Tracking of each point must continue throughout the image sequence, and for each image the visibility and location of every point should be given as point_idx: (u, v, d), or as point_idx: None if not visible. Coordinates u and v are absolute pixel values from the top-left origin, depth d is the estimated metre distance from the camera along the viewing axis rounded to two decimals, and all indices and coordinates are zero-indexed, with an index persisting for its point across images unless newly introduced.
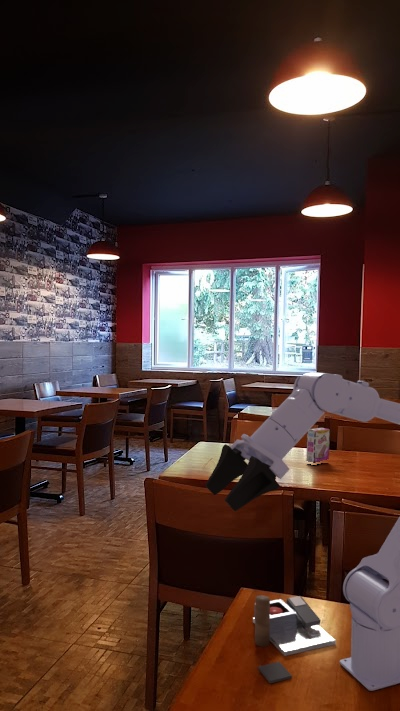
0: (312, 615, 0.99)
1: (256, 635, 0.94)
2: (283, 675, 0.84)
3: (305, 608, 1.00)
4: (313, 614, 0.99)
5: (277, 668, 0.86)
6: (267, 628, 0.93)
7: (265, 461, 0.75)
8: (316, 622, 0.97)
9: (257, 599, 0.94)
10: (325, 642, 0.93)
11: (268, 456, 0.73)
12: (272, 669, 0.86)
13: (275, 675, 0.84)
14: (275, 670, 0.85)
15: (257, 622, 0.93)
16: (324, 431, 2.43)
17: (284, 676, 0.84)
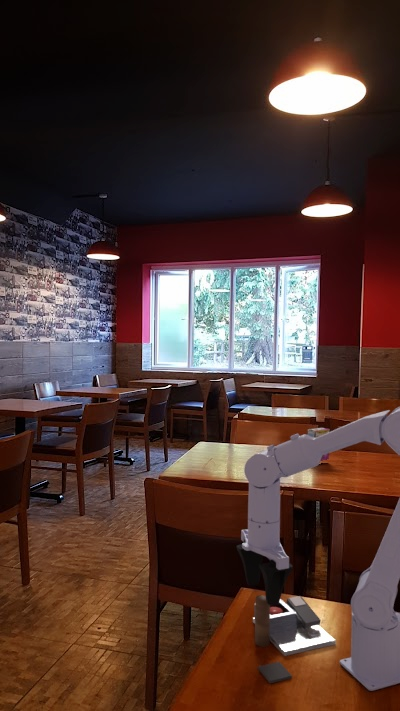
0: (312, 615, 0.99)
1: (256, 635, 0.94)
2: (283, 675, 0.84)
3: (305, 608, 1.00)
4: (313, 614, 0.99)
5: (277, 668, 0.86)
6: (267, 628, 0.93)
7: None
8: (316, 622, 0.97)
9: (257, 599, 0.94)
10: (325, 642, 0.93)
11: (269, 557, 0.89)
12: (272, 669, 0.86)
13: (275, 675, 0.84)
14: (275, 670, 0.85)
15: (257, 622, 0.93)
16: (324, 431, 2.43)
17: (284, 676, 0.84)
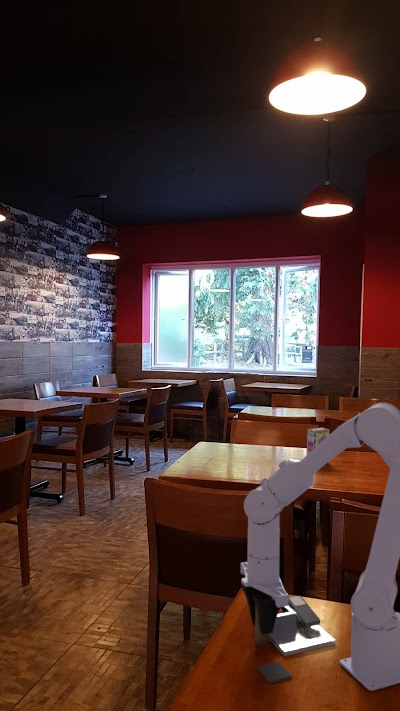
0: (312, 615, 0.99)
1: (256, 635, 0.94)
2: (283, 675, 0.84)
3: (305, 608, 1.00)
4: (313, 614, 0.99)
5: (277, 668, 0.86)
6: None
7: None
8: (316, 622, 0.97)
9: None
10: (325, 642, 0.93)
11: (268, 594, 0.89)
12: (272, 669, 0.86)
13: (275, 675, 0.84)
14: (275, 670, 0.85)
15: (257, 622, 0.93)
16: (324, 431, 2.43)
17: (284, 676, 0.84)
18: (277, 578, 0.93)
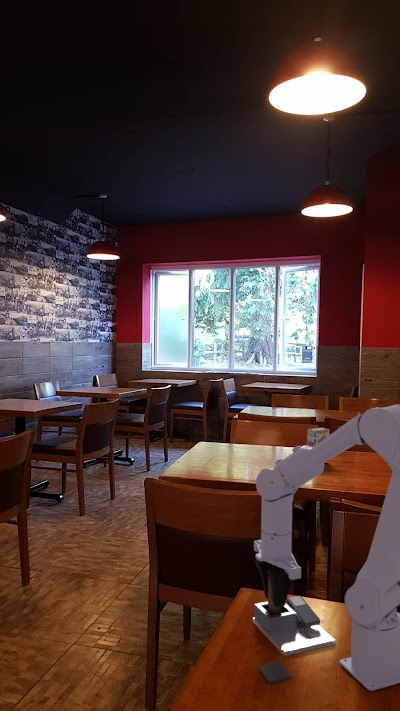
0: (312, 615, 0.99)
1: (269, 608, 0.98)
2: (283, 675, 0.84)
3: (305, 608, 1.00)
4: (313, 614, 0.99)
5: (277, 668, 0.86)
6: None
7: None
8: (316, 622, 0.97)
9: None
10: (325, 642, 0.93)
11: (282, 567, 0.94)
12: (272, 669, 0.86)
13: (275, 675, 0.84)
14: (275, 670, 0.85)
15: (270, 596, 0.98)
16: (324, 431, 2.43)
17: (284, 676, 0.84)
18: (289, 553, 0.97)
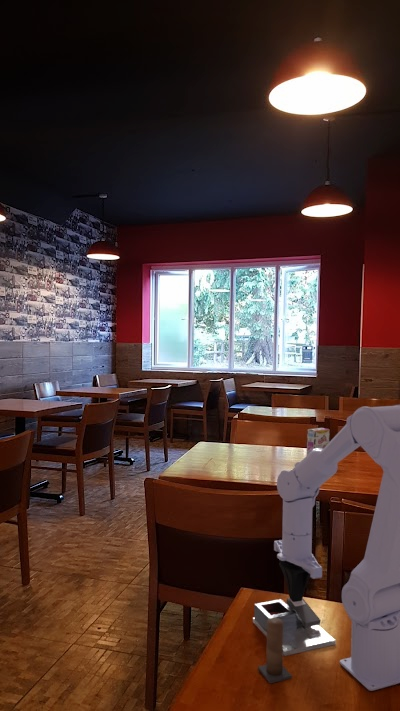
0: (312, 615, 0.99)
1: (269, 663, 0.84)
2: (283, 675, 0.84)
3: (305, 608, 1.00)
4: (313, 614, 0.99)
5: None
6: (281, 654, 0.84)
7: None
8: (316, 622, 0.97)
9: (269, 623, 0.85)
10: (325, 642, 0.93)
11: (303, 567, 0.97)
12: None
13: None
14: None
15: (270, 648, 0.84)
16: (324, 431, 2.43)
17: (284, 676, 0.84)
18: (310, 553, 1.01)
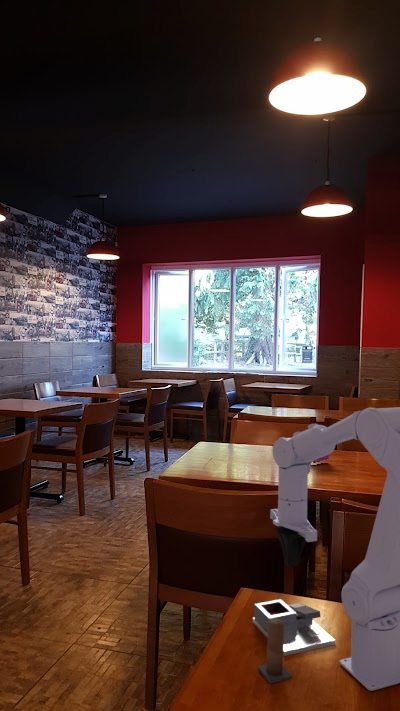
0: (311, 610, 0.99)
1: (269, 663, 0.84)
2: (283, 675, 0.84)
3: (304, 608, 1.00)
4: (312, 609, 0.99)
5: None
6: (281, 655, 0.84)
7: None
8: (316, 614, 0.97)
9: (270, 623, 0.85)
10: (325, 642, 0.93)
11: (299, 531, 0.99)
12: None
13: None
14: None
15: (270, 649, 0.84)
16: None
17: (284, 676, 0.84)
18: (305, 519, 1.03)
